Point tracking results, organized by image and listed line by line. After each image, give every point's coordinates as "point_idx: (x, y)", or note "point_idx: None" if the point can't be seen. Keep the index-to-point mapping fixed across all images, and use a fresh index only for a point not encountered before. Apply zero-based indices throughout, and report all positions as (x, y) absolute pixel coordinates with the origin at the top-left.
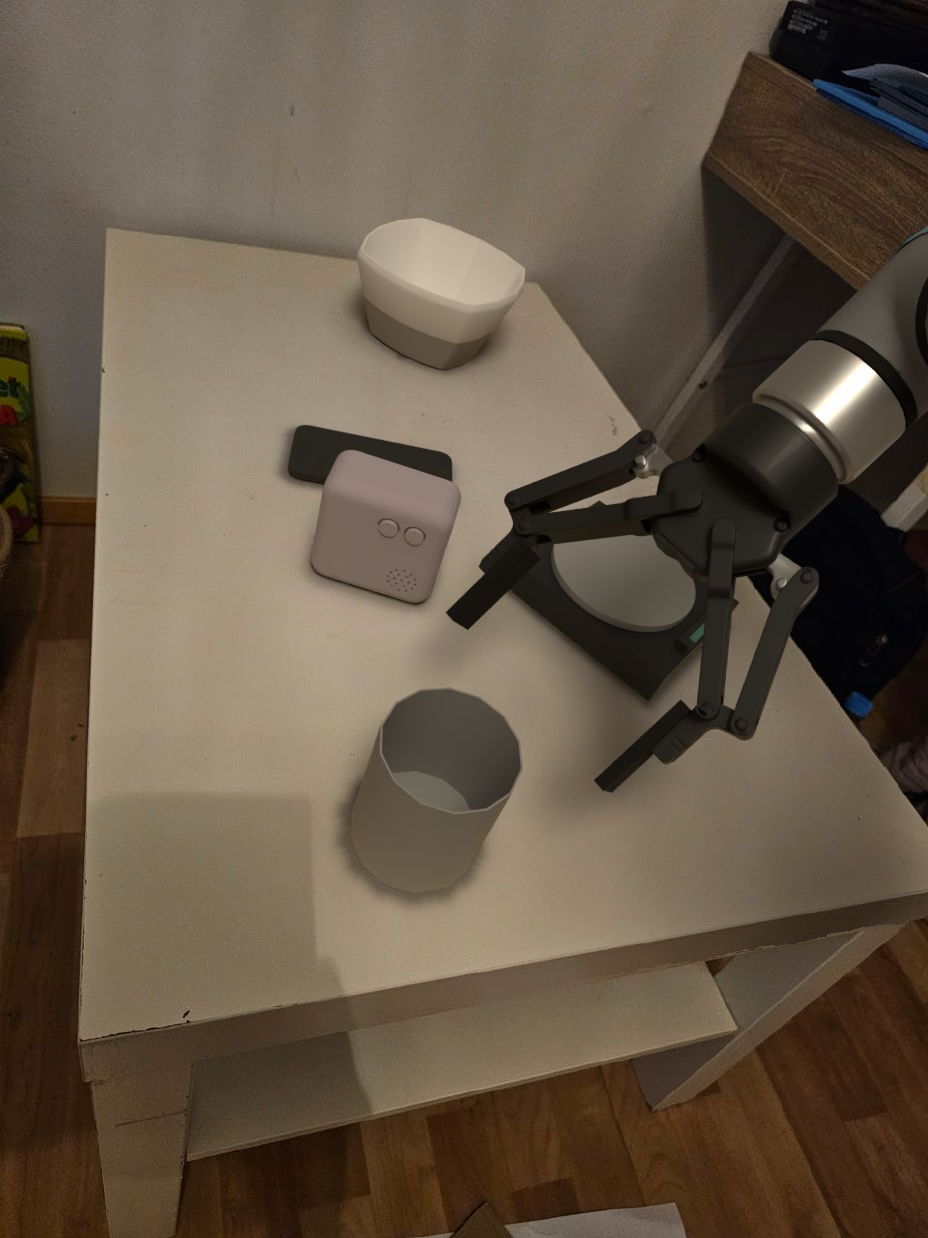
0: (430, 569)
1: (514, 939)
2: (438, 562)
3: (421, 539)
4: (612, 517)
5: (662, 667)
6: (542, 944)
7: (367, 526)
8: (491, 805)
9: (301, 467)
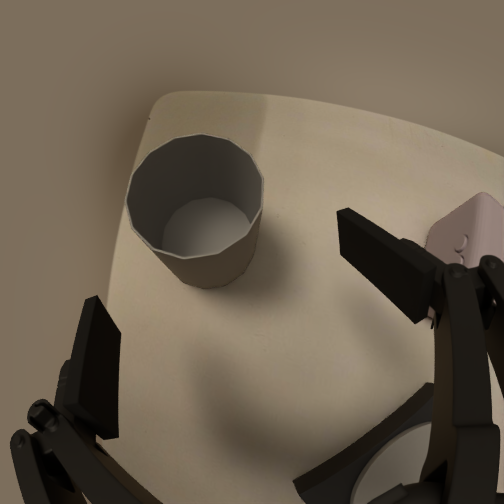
0: None
1: (119, 286)
2: None
3: None
4: (464, 399)
5: (311, 496)
6: (111, 304)
7: (460, 230)
8: (127, 205)
9: None
